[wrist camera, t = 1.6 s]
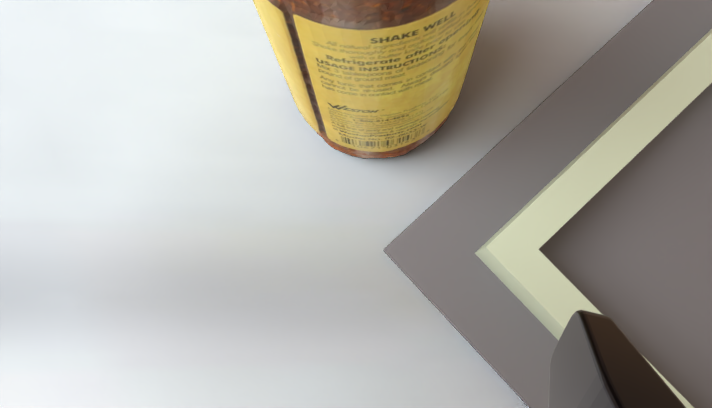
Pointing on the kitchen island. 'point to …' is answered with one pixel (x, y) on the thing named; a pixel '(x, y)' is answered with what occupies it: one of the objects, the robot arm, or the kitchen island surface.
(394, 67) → the sauce bottle
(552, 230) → the bottle collar
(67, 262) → the kitchen island surface
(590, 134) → the rubber mat
